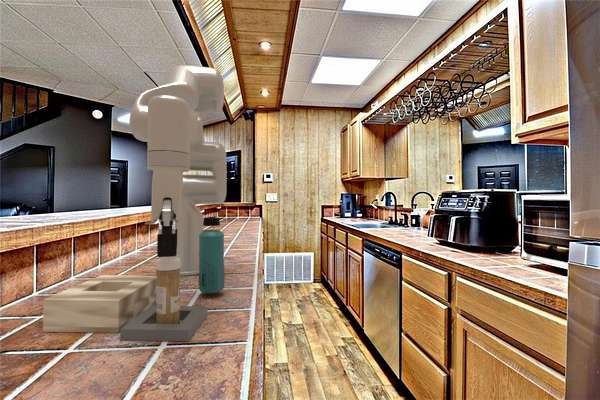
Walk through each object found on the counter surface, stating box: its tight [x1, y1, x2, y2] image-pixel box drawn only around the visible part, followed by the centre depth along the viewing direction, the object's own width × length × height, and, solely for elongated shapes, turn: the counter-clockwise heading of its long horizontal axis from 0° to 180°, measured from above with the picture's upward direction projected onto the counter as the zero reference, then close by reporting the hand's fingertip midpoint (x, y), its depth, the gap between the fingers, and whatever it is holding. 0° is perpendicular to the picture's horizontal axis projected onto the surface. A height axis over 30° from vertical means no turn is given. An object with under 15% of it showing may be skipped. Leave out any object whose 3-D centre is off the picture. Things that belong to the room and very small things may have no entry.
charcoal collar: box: [119, 305, 209, 342], centre depth 64 cm, size 12×12×2 cm
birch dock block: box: [42, 274, 157, 334], centre depth 70 cm, size 18×14×6 cm
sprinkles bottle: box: [155, 257, 181, 324], centre depth 64 cm, size 5×5×13 cm
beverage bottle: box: [197, 216, 225, 294], centre depth 84 cm, size 6×7×20 cm
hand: (168, 252), depth 63 cm, fingers open, 9 cm apart
